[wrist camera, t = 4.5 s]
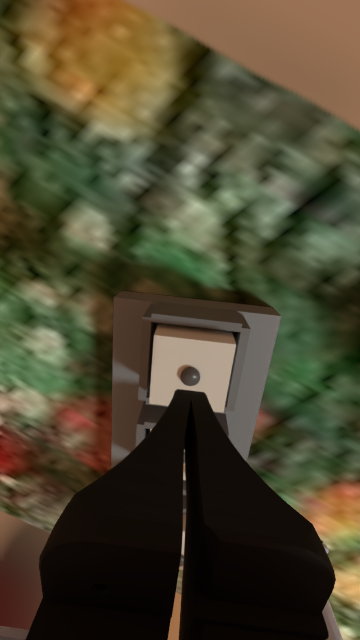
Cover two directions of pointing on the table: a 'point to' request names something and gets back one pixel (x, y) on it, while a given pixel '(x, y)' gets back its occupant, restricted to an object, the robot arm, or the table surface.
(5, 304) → the table surface
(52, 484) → the table surface
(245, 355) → the button panel
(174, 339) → the one pip button
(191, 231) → the table surface
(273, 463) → the table surface
